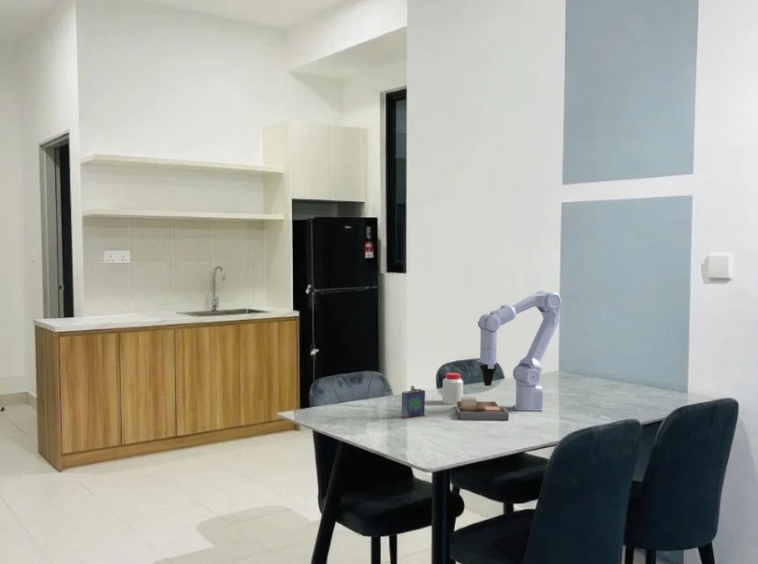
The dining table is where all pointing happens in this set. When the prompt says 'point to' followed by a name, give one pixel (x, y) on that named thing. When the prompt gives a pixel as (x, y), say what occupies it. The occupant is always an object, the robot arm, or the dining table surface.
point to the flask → (413, 403)
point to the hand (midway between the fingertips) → (487, 385)
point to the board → (478, 407)
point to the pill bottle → (452, 388)
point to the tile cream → (468, 401)
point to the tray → (482, 415)
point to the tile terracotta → (491, 409)
